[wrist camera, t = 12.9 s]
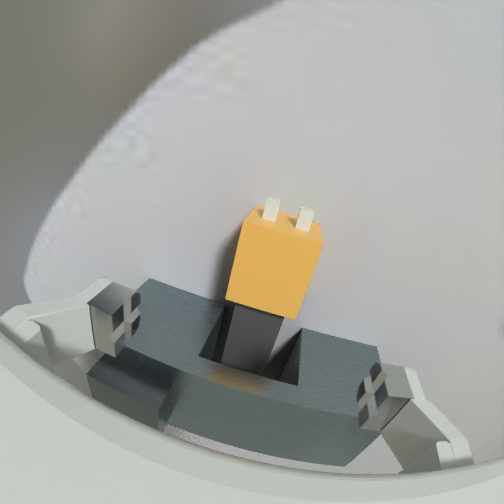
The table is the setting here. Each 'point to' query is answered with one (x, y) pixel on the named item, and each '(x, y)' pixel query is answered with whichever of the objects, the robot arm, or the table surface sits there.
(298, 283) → the plug
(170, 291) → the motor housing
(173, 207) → the table surface
